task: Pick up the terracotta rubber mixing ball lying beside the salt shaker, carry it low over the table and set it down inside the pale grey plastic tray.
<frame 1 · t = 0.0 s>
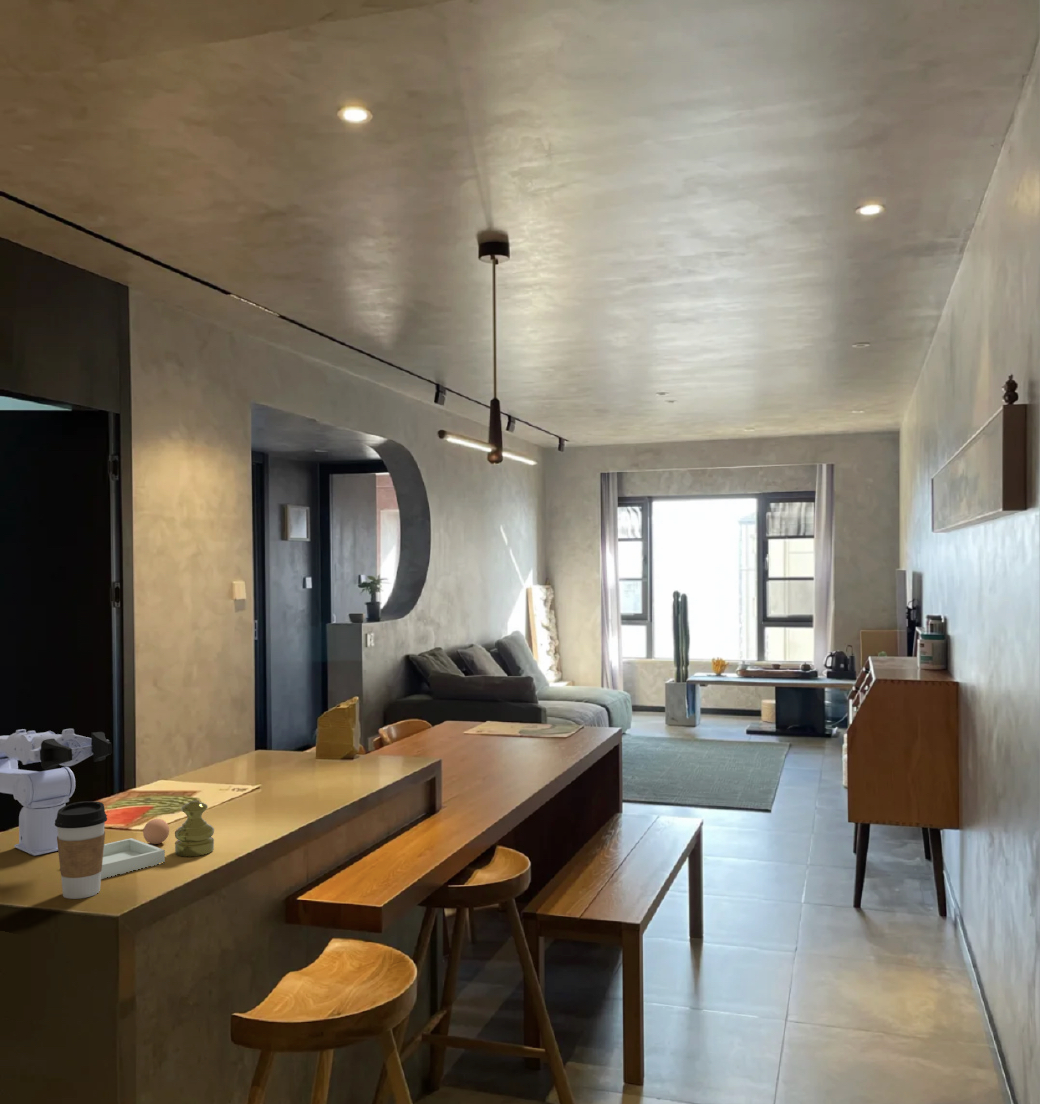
hand: (90, 751, 190), 22 cm above the worktop, tool horizontal, fingers open, 7 cm apart
tray: (116, 864, 191), on the worktop
ball: (156, 843, 205), on the worktop
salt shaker: (194, 852, 199), on the worktop
coffee cup: (81, 894, 175), on the worktop
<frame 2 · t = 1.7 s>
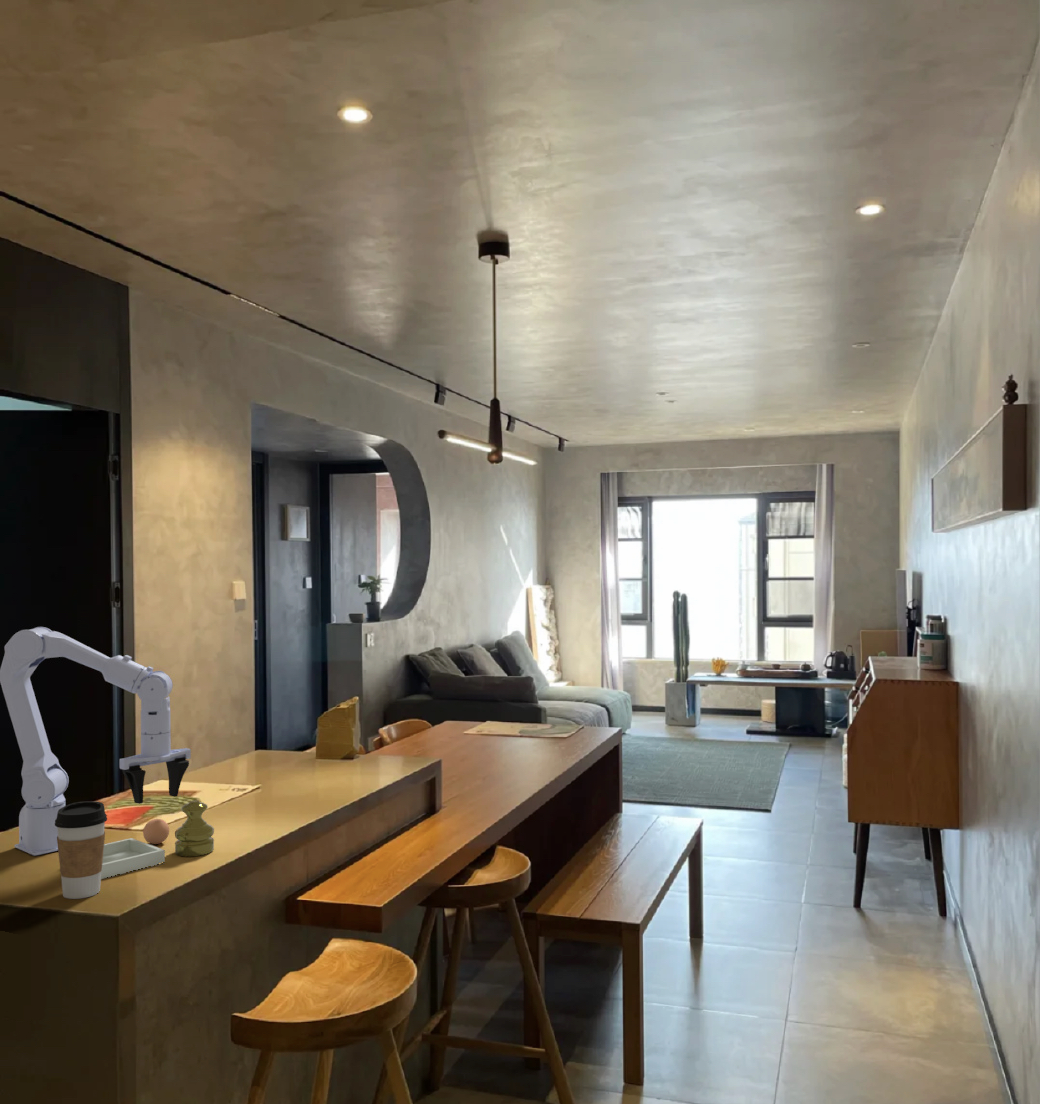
hand: (156, 799, 205), 9 cm above the worktop, tool pointing down, fingers open, 7 cm apart
nothing on the worktop moved.
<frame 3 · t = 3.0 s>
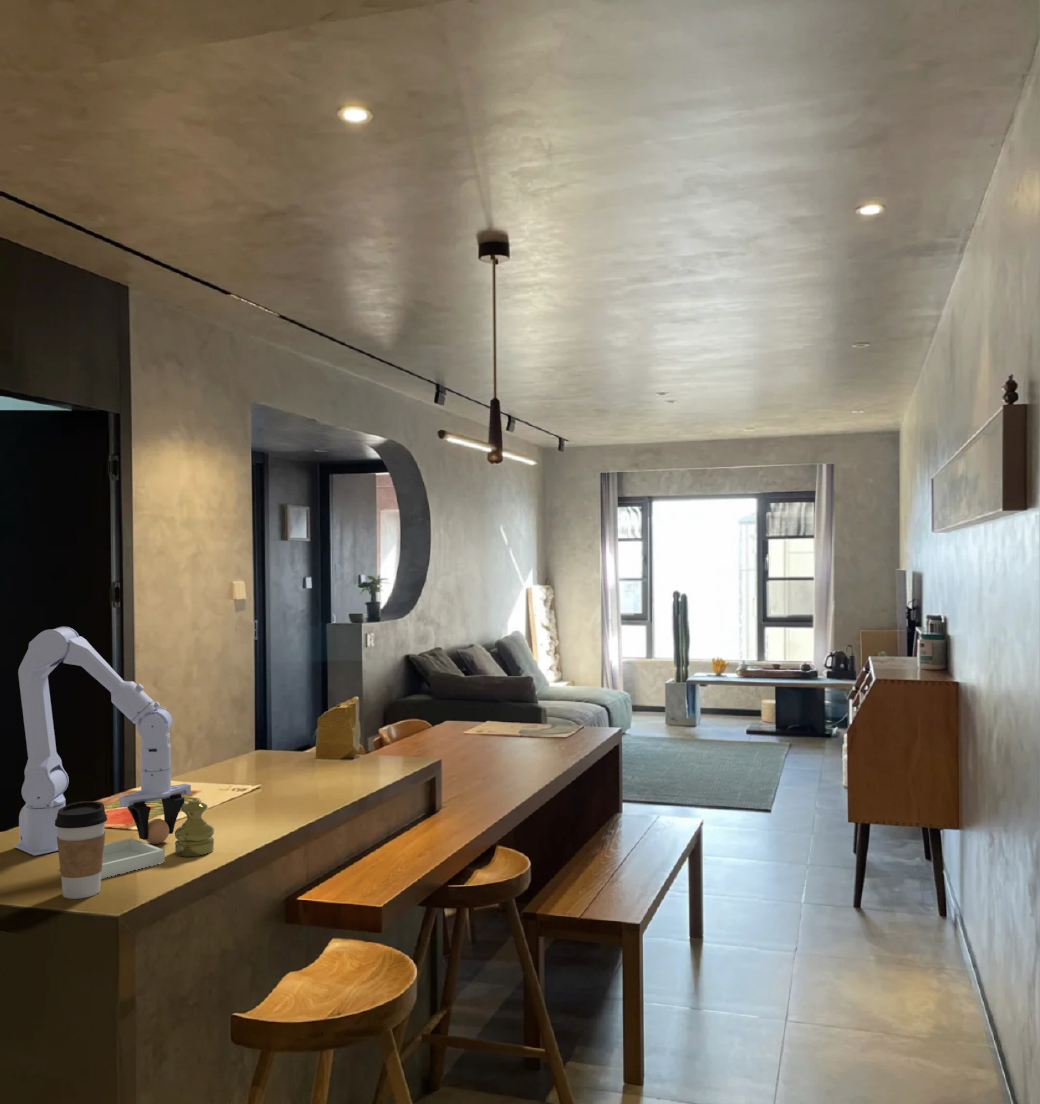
hand: (156, 835, 205), 2 cm above the worktop, tool pointing down, fingers closed on ball, 5 cm apart
ball: (156, 843, 205), on the worktop, touching gripper
everything else where it was.
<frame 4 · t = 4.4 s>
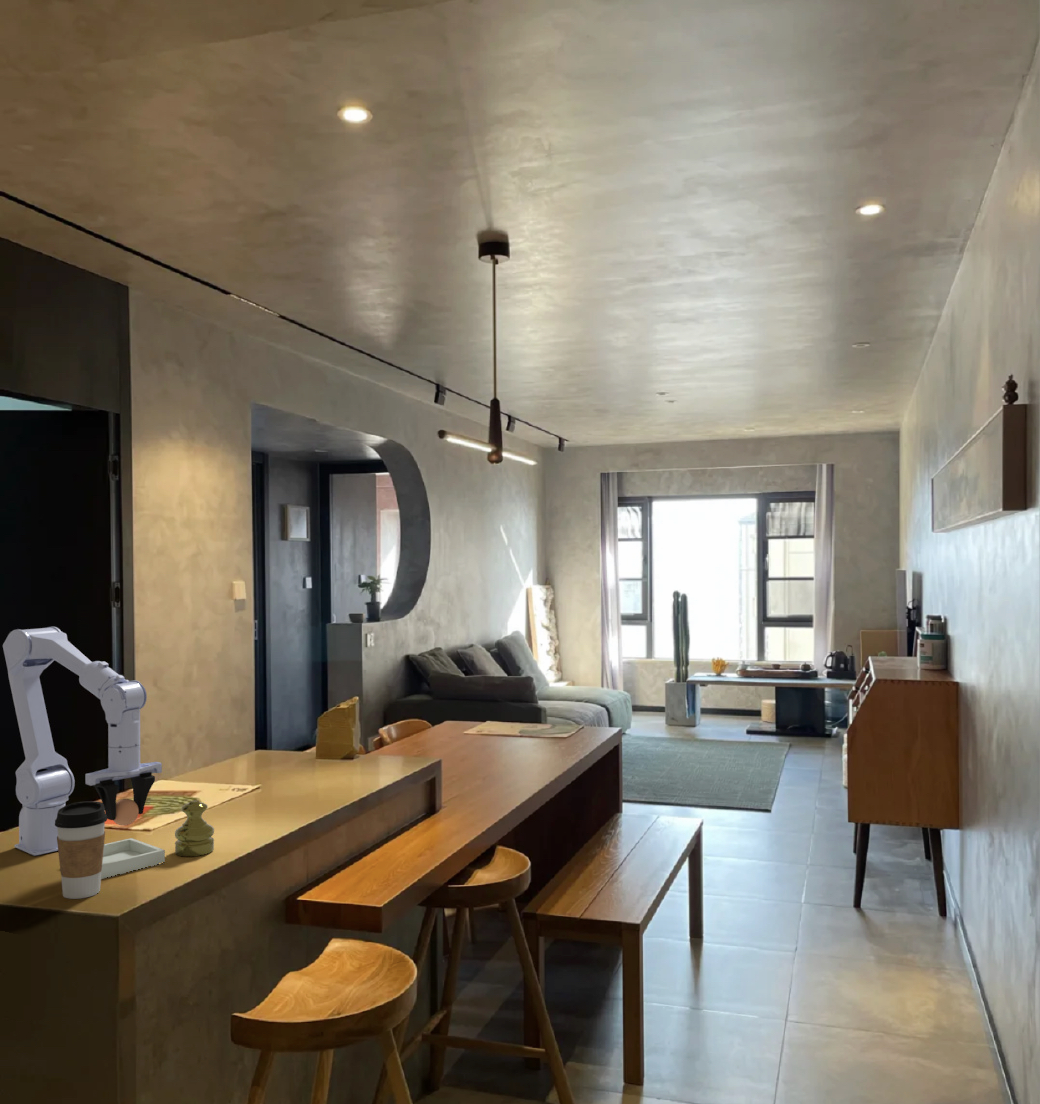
hand: (124, 816, 194), 8 cm above the worktop, tool pointing down, fingers closed on ball, 5 cm apart
ball: (125, 825, 194), point 7 cm above the worktop, touching gripper
everything else where it was.
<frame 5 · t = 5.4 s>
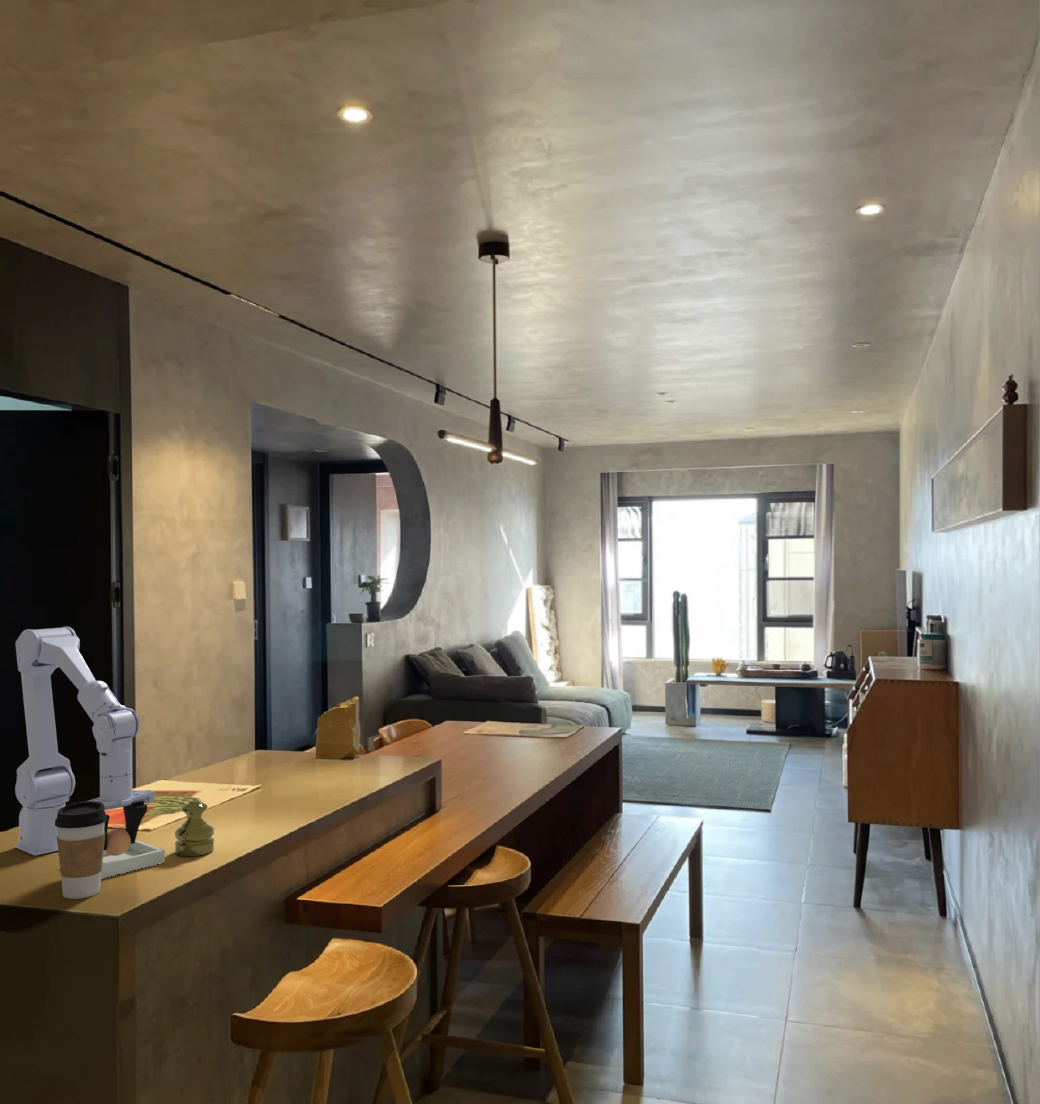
hand: (116, 846, 191), 3 cm above the worktop, tool pointing down, fingers closed on ball, 5 cm apart
ball: (117, 855, 192), point 2 cm above the worktop, touching gripper
everything else where it was.
when the fingers open (3 cm above the worktop, at t = 5.9 s): ball drops 1 cm, resting on tray.
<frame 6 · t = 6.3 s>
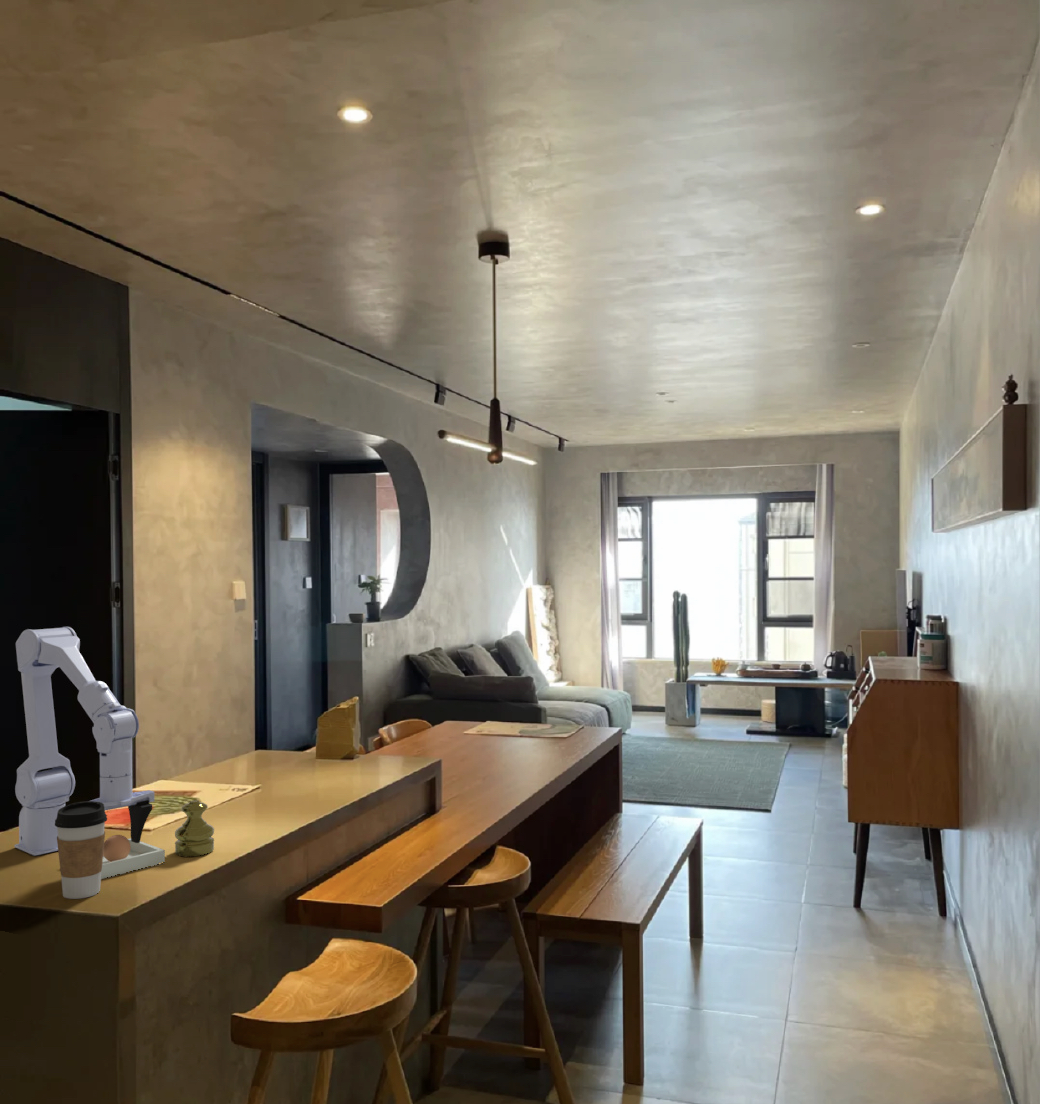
hand: (116, 846, 192), 3 cm above the worktop, tool pointing down, fingers open, 7 cm apart
ball: (117, 861, 192), point 1 cm above the worktop, touching tray
everything else where it was.
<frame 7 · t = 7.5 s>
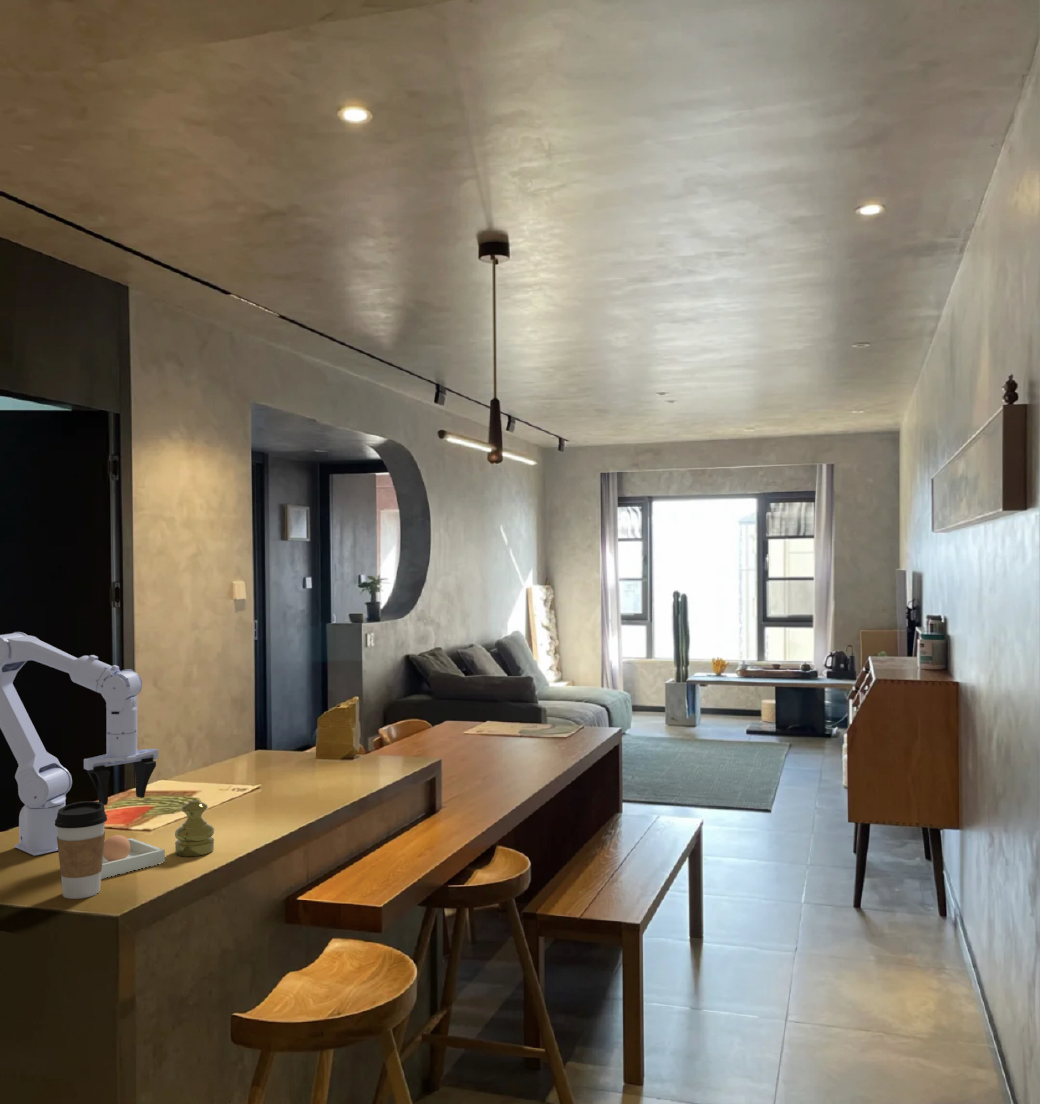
hand: (122, 800, 201), 10 cm above the worktop, tool pointing down, fingers open, 7 cm apart
nothing on the worktop moved.
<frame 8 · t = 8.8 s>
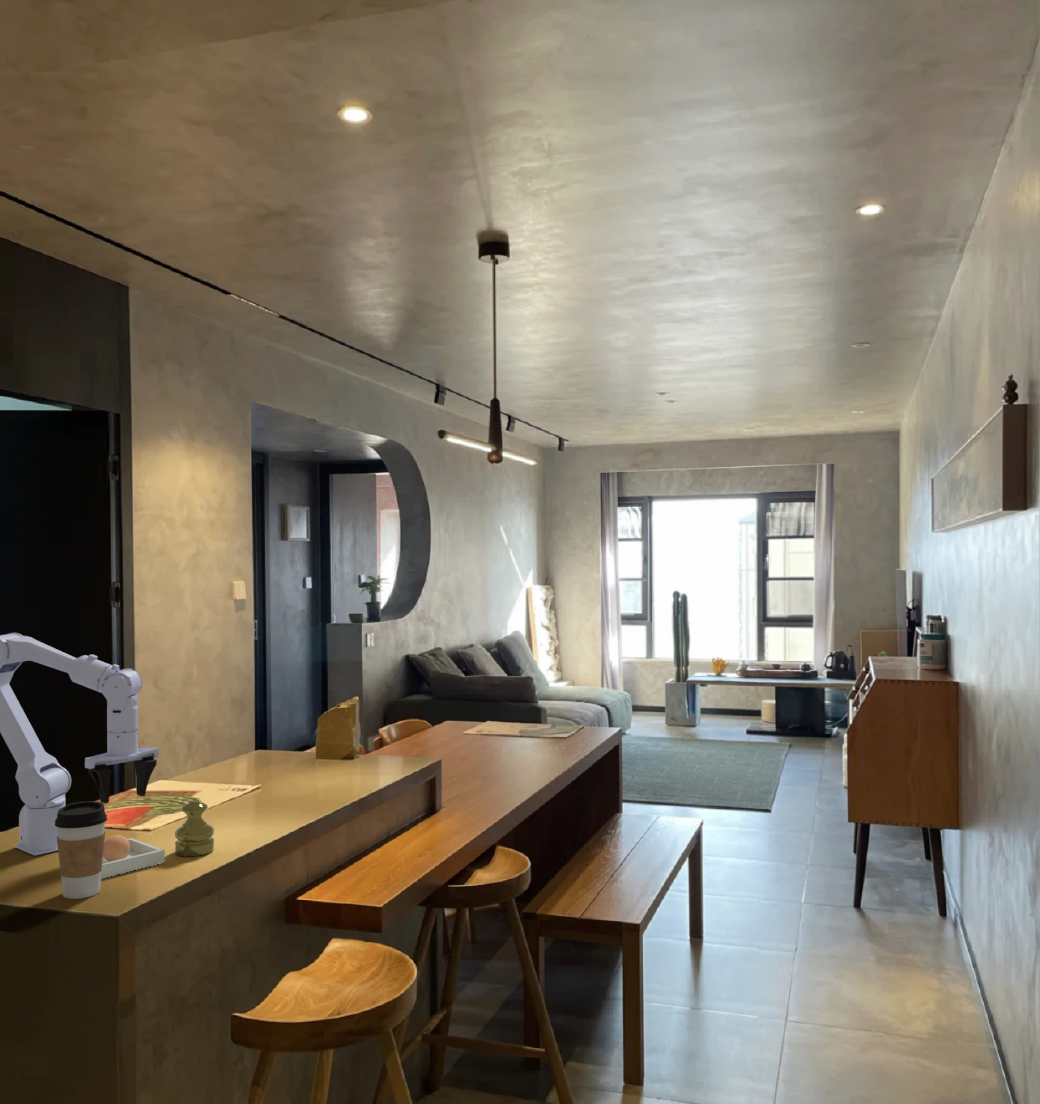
hand: (123, 798, 202), 10 cm above the worktop, tool pointing down, fingers open, 7 cm apart
nothing on the worktop moved.
at the end: ball inside the target area on the tray (0.1 cm from its centre), point 0.5 cm above the tray's base; the gripper is holding nothing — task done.
